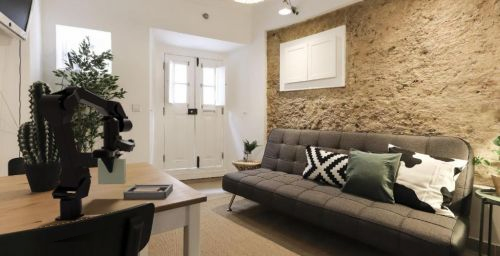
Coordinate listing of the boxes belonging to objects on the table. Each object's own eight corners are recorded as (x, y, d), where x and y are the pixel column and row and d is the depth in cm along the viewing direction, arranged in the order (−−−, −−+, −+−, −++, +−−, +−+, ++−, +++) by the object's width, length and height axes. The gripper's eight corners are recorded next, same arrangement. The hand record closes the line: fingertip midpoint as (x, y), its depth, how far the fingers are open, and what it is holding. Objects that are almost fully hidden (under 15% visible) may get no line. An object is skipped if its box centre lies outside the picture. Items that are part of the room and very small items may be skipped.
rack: (165, 199, 103) (165, 191, 103) (123, 200, 102) (123, 192, 102) (172, 190, 115) (172, 184, 115) (135, 191, 114) (135, 184, 114)
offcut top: (156, 193, 105) (156, 190, 105) (133, 194, 104) (133, 191, 104) (159, 190, 110) (159, 187, 110) (137, 190, 109) (137, 187, 109)
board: (124, 184, 105) (123, 159, 105) (98, 184, 105) (97, 159, 104) (125, 183, 107) (125, 158, 106) (100, 183, 106) (99, 158, 106)
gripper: (122, 134, 96) (122, 177, 97) (140, 132, 115) (140, 167, 115) (90, 134, 95) (91, 177, 96) (113, 131, 114) (114, 167, 115)
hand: (111, 172), depth 106 cm, fingers closed on board, 2 cm apart
